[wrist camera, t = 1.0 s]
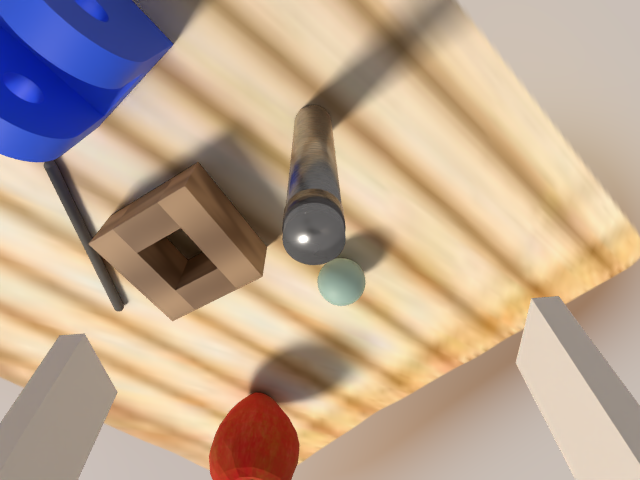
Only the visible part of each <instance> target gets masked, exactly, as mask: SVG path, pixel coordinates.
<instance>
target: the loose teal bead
mask: <svg viewBox="0 0 640 480" xmlns="http://www.w3.org/2000/svg"><path fill="white" fill-rule="evenodd" d="M318 288H319V291H320V293H321V295H322V296H323V297H324V299H325V300H327V301H328V302H330V303H331V304H334V305H338V306H346V305H349V304H352V303H354V302H355V301H357V300H358V299H359V298H360V296H361V295H362V293H363V291H364V289H365V276H364V273H363V271H362V269H361V268H360V266H359V265H358V264H357V263H355V262H354V261H352V260H350V259H346V258H336V259H333V260H332V261H330V262H327V263H326V264H325V265H324V266H323V267H322V269H321V270H320V273H319V276H318Z"/></svg>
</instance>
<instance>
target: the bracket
mask: <svg viewBox="0 0 640 480" xmlns="http://www.w3.org/2000/svg"><path fill="white" fill-rule="evenodd" d="M172 46H173V43H172V42H171V41H170V40H169V39H168V38H167V37H166V36H165V35H164V34H163V33H162V31H161V30H160V29H159V28H158V27H157V26H156V25H155V24H154V23H153V22H152V21H151V20H150V19H149V18H148V17H147V16H146V15H145V14H144V13H143V12H142V11H141V10H140V8H139V7H138V6H137V5H136V4H135V3H134V2H133V1H132V0H0V154H2V155H5V156H8V157H11V158H14V159H18V160H23V161H29V162H47V161H51V160H54V159H57V158H58V157H60V156H61V155H63V154H64V153H65V152H67V151H68V150H69V149H70V148H72V147H73V146H74V145H76V144H77V143H78V142H80V141H81V140H82V139H83V138H85V137H86V136H87V135H89V134H90V133H91V132H92V131H94V130H95V129H96V128H98V127H99V126H100V125H101V123H102V122H103V121H104V120H105V119H106V118H107V117H108V116H109V115H110V114H111V112H112V111H113V110H114V109H115V108H116V107H117V106H118V105H119V104H120V103H121V102H122V100H123V99H124V98H125V97H126V96H127V95H128V94H129V93H130V92H131V91H132V89H133V88H134V87H135V86H136V85H137V84H138V83H139V82H140V81H141V80H142V78H143V77H144V76H145V75H146V74H147V73H148V72H149V71H150V70H151V69H152V67H153V66H154V65H155V64H156V63H157V62H158V61H159V60H160V59H161V58H162V57H163V55H164V54H165V53H166V52H167V51H168V50H169V49H170V48H171V47H172Z"/></svg>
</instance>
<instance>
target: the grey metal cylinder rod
mask: <svg viewBox="0 0 640 480" xmlns="http://www.w3.org/2000/svg"><path fill="white" fill-rule="evenodd" d="M283 245H284V248H285V250H286V251H287V253H288V254H289V255H290V256H291V257H292V258H293V259H295V260H296V261H298V262H301V263H304V264H308V265H320V264H324V263H327V262H330V261H332V260H333V259H335V258H336V257H337V256H338V255H339V254H340V253H341V251H342V250H343V248H344V245H345V220H344V212H343V207H342V205H341V197H340V188H339V180H338V172H337V164H336V156H335V148H334V140H333V131H332V123H331V118H330V115H329V113H328V112H327V111H326V110H325V109H324V108H322V107H321V106H318V105H308V106H305V107H304V108H302V109H301V110H300V111H299V112H298V113H297V115H296V118H295V124H294V134H293V143H292V153H291V162H290V172H289V181H288V191H287V200H286V207H285V210H284V218H283Z"/></svg>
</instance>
